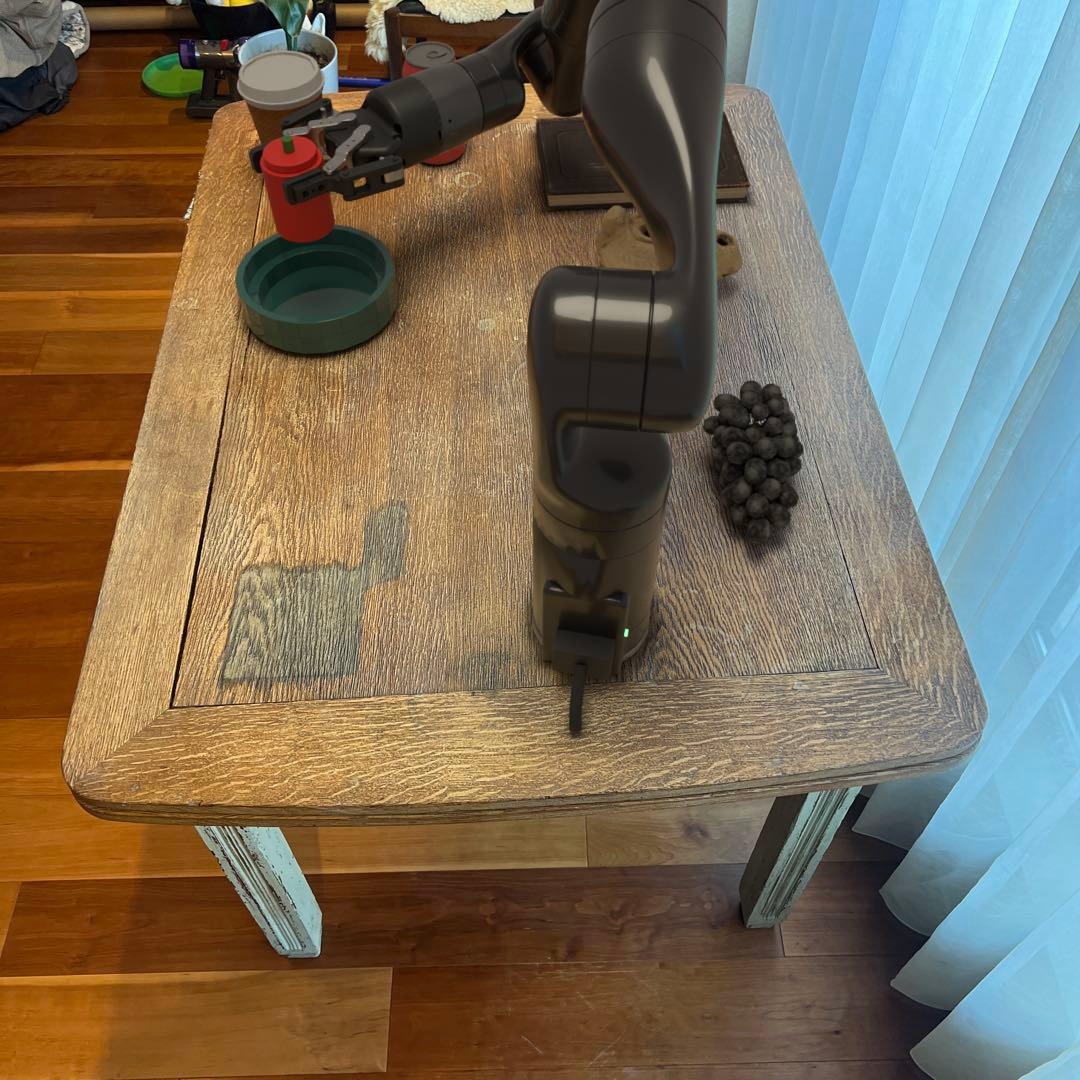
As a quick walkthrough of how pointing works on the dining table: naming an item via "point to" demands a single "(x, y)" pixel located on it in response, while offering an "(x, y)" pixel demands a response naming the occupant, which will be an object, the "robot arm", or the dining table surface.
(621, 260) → the oil lamp
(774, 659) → the dining table surface
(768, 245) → the dining table surface
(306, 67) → the disposable coffee cup
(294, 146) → the red cylinder
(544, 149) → the hardcover book
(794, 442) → the fruit
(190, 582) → the dining table surface
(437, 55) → the beer can
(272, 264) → the bowl
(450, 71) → the robot arm
